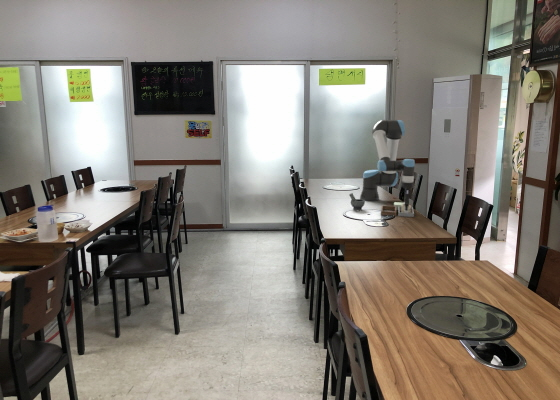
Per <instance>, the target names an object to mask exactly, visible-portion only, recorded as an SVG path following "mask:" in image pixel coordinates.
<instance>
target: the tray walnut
mask: <svg viewBox="0 0 560 400" xmlns="http://www.w3.org/2000/svg"><path fill="white" fill-rule="evenodd" d="M380 210H381V211H380V216H390V215H394V216H395V217H397V210H396V206H394V205H381V209H380ZM385 210H386V211H385ZM387 210H388V211H387ZM391 210H393V211H391ZM394 216H393V217H394Z"/></svg>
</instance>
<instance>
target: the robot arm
mask: <svg viewBox="0 0 560 400" xmlns="http://www.w3.org/2000/svg"><path fill="white" fill-rule="evenodd" d="M405 127H406V126H405V122H404V121H403V120H401V119H381V120H378V121H377V122H376V123H375V124H374V125H373V128H372V132H371V133H372V138H373V139H374V141H375V145H376V150H377V155H378V159H379V160H378V161H377V164H376V166H377V169H369V170H368V169H367V170H365V171H364V172H363V176H362V190H361V194H359V195H360V196H359V199H361V200H365V202H366V201H367V202H368V201H369V202H375V201H376V202H377V201H379V200H380V195H379V192H378V187H388V188H389V187H394V186H396V185H397V183H398V180H399V174H398V172H402V176H400V177H401V179H402V180H401V187H402V188H404V190H403V192H404V194H403V195H404V197H403V203H404V213H408V208H409V204H410V197H411V189H413V188H414V181H415V180H414V179H415V165H416V162H415V159H413V158H405V159H403V160H402V159H401V160H397V155H398V149H399V148H398V147H399V141H400V140H402V137H403V136H405V133H406V128H405Z"/></svg>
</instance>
